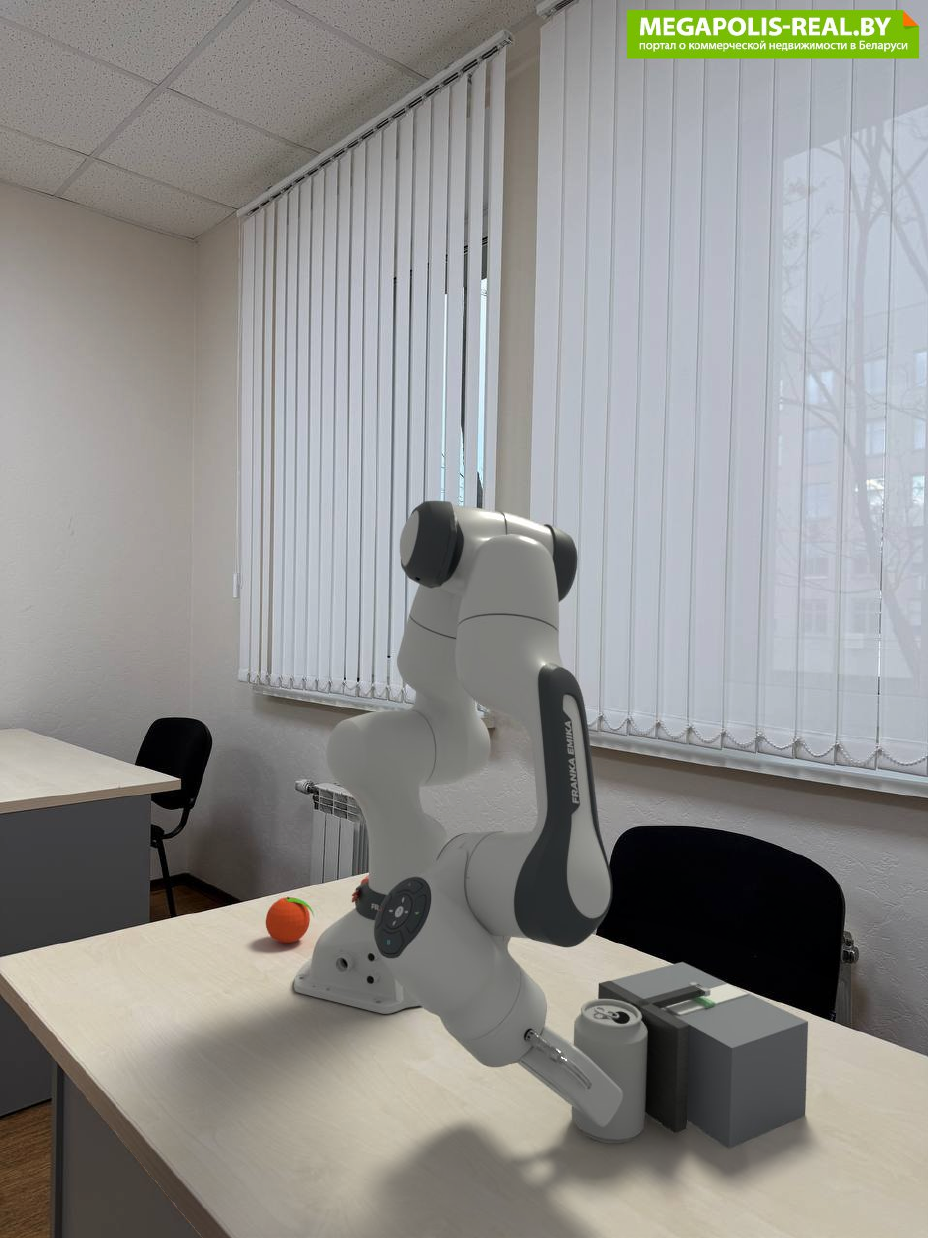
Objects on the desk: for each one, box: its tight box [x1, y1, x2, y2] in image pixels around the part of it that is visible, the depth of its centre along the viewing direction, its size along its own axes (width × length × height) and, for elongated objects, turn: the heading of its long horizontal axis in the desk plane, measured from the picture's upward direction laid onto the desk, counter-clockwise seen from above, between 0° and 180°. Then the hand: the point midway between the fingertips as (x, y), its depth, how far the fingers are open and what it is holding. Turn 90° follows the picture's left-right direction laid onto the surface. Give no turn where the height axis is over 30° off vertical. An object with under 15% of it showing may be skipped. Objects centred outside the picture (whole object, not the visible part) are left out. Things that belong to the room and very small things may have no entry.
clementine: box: [265, 896, 315, 944], centre depth 135 cm, size 8×7×7 cm
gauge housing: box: [610, 961, 809, 1149], centre depth 95 cm, size 12×18×10 cm, turn 32°
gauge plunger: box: [597, 980, 710, 1135], centre depth 92 cm, size 10×12×10 cm
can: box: [571, 998, 648, 1144], centre depth 88 cm, size 8×8×12 cm
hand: (575, 1090), depth 85 cm, fingers closed, pressing on can
